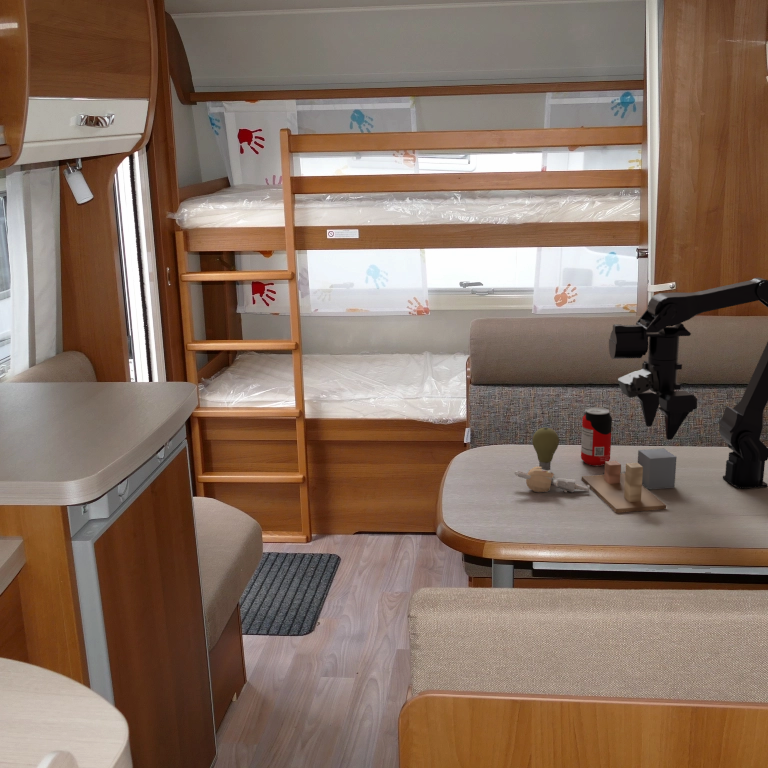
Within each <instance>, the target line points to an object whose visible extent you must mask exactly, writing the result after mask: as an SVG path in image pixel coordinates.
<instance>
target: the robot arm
mask: <svg viewBox="0 0 768 768" xmlns="http://www.w3.org/2000/svg"><path fill="white" fill-rule="evenodd" d="M758 301H759V302H760V303H761V304H762V305H764V306H765V307H766V308H768V279H765V278H762V277H754V278H752V279H750V280H745V281H741V282H736V283H732V284H727V285H723V286H718V287H714V288H713V287H712V288H709V289H704V290H699V291H695V292H694V291H692V292H677V291H676V292H659V293H656V294H654V295H653V296H652V297H651V298H650V300H648V304H647V309H646V310H645V311H644V312H643V313H642V315H641V316H640V317H639V319H638V320H637V321H636V323H635V324H629V325H628V324H619V323H618V324H617V323H615V324H612V330H611V332H610V336H609V338H608V353H609V355H610V358H611V360H613V359H614V360H616V359H619V360H620V359H621V360H622V359H627V360H628V359H642V358H643V356H646V354H647V360H643V362H642V365H641V369H639V370H635V371H632V372H630V373H627V374H625V375H623V376H620V377H618V378H617V381H618V384H619V387H620V390H621V394H622V395H625V396H627V397H628V398H635V397H636V398H637V400H639V403H640V404H639V405H640V407H641V411H642V414H643V419H644V422H645V426H646V427H652V426H653V423H654V421H655V418H656V415H657V412H658V410H659V411H660V412H662V414H663V415H664V426H665V428H664V429H665V438H666V440H668V441H670V440H673V439H674V437H675V435H676V434H677V432H678V431H679V430H680V427H681V425H682V424H683V422H684V421H685V420H686V418H687V417H688V415H689V414H690V413H691V412H693V411H694V410H697V409H698V398H697V397H696V396H695V395H694V393H690V391H689V392H688V391H687V390H681V386H682V384H680V383H679V382H678V370H683V364H682V363H680V362H679V351H680V349H679V348H680V337H690V336H691V335H692V333H691V331H689V330H688V329H687V328H686V327H685V326H684V324H683V323H684V322H686V321H689V320H691V319H692V318H694V317H696V316H698V315H700V314H703V313H707V312H711V311H717V310H720V309H726V308H731V307H735V306H740V305H743V304H749V303H753V302H758ZM767 404H768V341H766V345H765V347H764V350H763V351H762V353H761V356H760V358H759V360H758V363H757V365H756V366H755V368H754V371H753V373H752V376H751V378H750V380H749V381H748V384H747V387H746V388H745V390H744V393H743V395H742V397H741V400H739V402H738V403H737V404H736V405H734V407H731V406H729V405H727V406H725V408H724V412H723V415H722V417H721V418H720V420H719V421H718V422H717V424H719V429H718V432H719V435H720V437H721V439H722V440H724V441H725V442H726V445H727V448H728V449H730V450H731V452H728V459H727V460H726V461H725V462H726V464H725V475H722V479H723V480H725V481H726V482H728V483H729V484H731V485H732V486H734V487H735V488H737V489H751V488H754V489H755V488H763V487H764V488H765V487H766V488H767V487H768V483H767V482H766V481H764V477H765V466H766V465H765V464H766V461H768V446H767V445H765V444H764V443H763V442H762V440H760V439H761V437H762V433H763V429H764V411H765V409H766V407H767Z"/></svg>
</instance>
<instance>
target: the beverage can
mask: <svg viewBox="0 0 768 768" xmlns="http://www.w3.org/2000/svg"><path fill="white" fill-rule="evenodd" d="M612 424H613V418H612V416H611V414H610V409H608V408H604V407H599V406H598V407H595V406H594V407H593V406H592V407H588V408H586V409H585V412H584V414H583V416H582V421H581V445H580V447H581V448H580V458H581V460H582V461H583V462H584V464H586V465H589V466H594V467H595V466H596V467H600V466H601V467H602V466H605V461H611V451H612V450H611V449H612V447H611V446H612Z"/></svg>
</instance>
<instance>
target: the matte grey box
mask: <svg viewBox="0 0 768 768" xmlns="http://www.w3.org/2000/svg"><path fill="white" fill-rule="evenodd" d="M637 463H639V464H640V465H641V466H642V467H643V476H642V486H643V487H645V488H646V489H647V490H648V491H650V490H659V489H660V490H661V489H675V487H676V484H675V483H676V471H677V456H676V455H674V454H673V453H672V452H670V451H668V450H667V449H665V447H663V448H651V449H650V448H649V449H647V448H646V449H638V452H637Z"/></svg>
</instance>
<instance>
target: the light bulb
mask: <svg viewBox="0 0 768 768" xmlns="http://www.w3.org/2000/svg"><path fill="white" fill-rule="evenodd" d="M531 439H532V446H533V449H534V451H535V453H536V455H537V460H538V462H539V463H538V464H539V465H538V466H539V467H542V468H540V469H543V470H547V471H549V470H550V471H551V464H552V463H551V462H553V458H554V455H555V452H556V451H557V450H558V448H559V447H558V446H559V444H560V438H559V435H558V434H557V432H556V431H555V430H554V429H552V428H550V427H547V426H546V427H541V428H538V429H537V430H536V431H535V432H534V433H533V436H532V438H531Z"/></svg>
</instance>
